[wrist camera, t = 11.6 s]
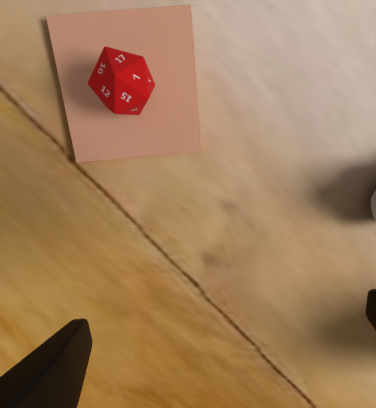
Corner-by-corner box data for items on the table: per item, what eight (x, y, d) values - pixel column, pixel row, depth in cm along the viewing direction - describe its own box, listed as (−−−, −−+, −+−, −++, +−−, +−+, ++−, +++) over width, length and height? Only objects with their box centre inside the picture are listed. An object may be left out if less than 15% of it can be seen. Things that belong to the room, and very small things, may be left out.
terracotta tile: (79, 161, 18) (76, 162, 17) (50, 20, 16) (45, 16, 15) (200, 150, 18) (200, 151, 17) (190, 9, 16) (190, 4, 15)
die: (164, 106, 17) (160, 96, 13) (119, 126, 17) (101, 123, 13) (141, 51, 16) (129, 22, 12) (93, 73, 16) (67, 52, 12)
